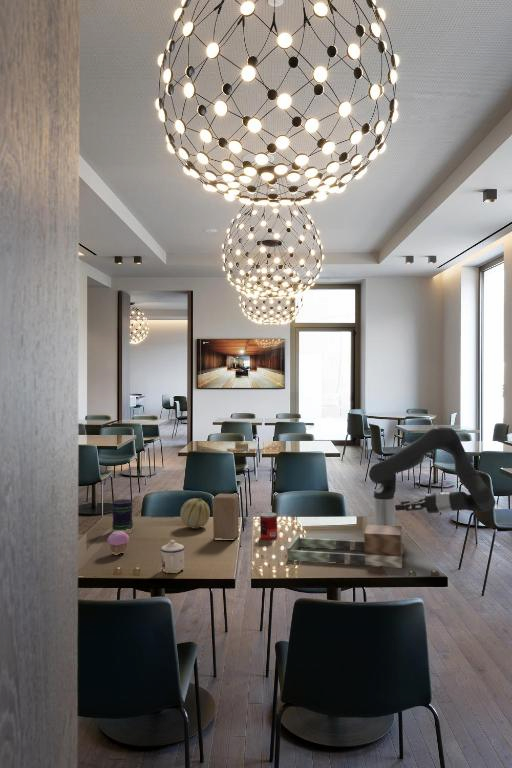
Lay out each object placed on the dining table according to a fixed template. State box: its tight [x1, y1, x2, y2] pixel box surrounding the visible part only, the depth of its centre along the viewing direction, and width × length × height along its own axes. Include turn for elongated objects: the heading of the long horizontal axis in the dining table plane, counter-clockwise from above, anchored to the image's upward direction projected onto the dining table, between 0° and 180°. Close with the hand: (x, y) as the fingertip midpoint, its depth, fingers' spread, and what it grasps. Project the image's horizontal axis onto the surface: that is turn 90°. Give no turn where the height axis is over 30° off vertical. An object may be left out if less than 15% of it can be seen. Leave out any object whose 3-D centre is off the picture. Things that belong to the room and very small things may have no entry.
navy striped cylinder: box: [111, 499, 134, 530], centre depth 294 cm, size 10×10×15 cm
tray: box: [286, 534, 404, 569], centre depth 247 cm, size 45×20×5 cm, turn 75°
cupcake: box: [107, 531, 130, 553], centre depth 256 cm, size 9×9×10 cm
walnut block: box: [363, 524, 403, 558], centre depth 243 cm, size 14×14×12 cm
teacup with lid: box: [160, 539, 185, 570], centre depth 232 cm, size 12×9×12 cm
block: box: [212, 493, 240, 540], centre depth 278 cm, size 10×10×20 cm
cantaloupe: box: [180, 497, 211, 528], centre depth 299 cm, size 15×15×15 cm
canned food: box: [259, 512, 278, 541], centre depth 278 cm, size 8×8×11 cm
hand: (398, 506), depth 240 cm, fingers open, 8 cm apart
